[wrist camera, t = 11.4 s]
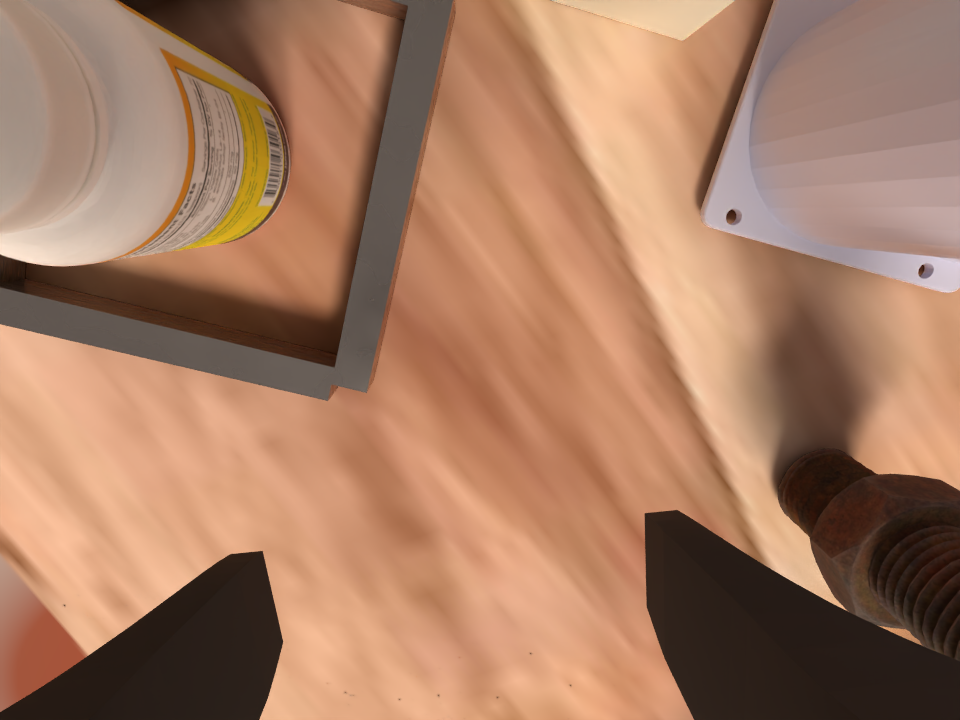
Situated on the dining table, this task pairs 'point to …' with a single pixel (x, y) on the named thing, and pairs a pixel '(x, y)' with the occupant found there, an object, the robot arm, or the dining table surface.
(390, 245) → the socket collar
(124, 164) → the supplement bottle
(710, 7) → the bin
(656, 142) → the dining table surface
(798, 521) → the bolt
